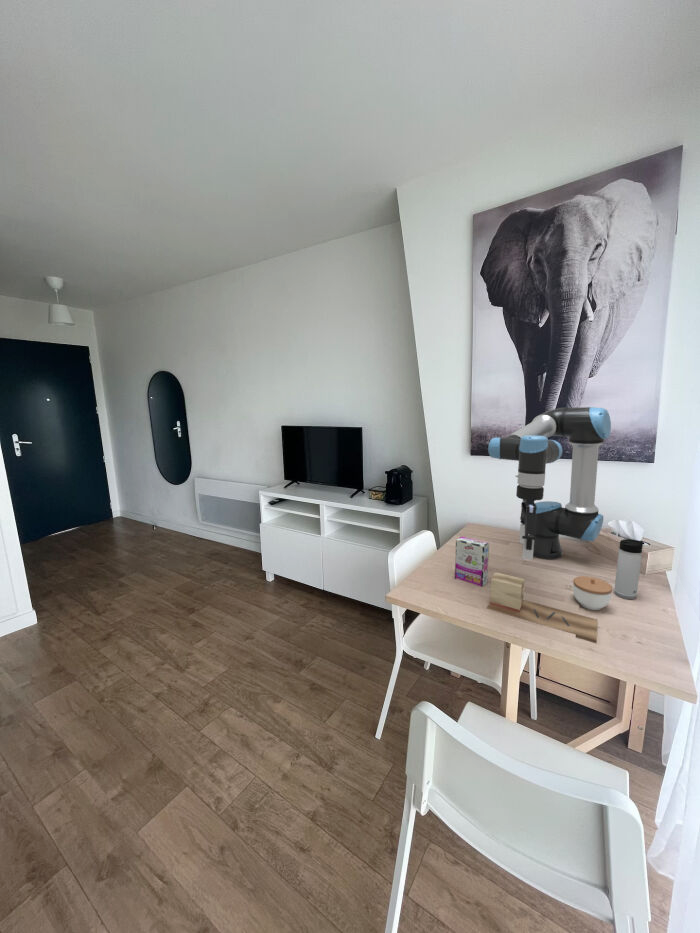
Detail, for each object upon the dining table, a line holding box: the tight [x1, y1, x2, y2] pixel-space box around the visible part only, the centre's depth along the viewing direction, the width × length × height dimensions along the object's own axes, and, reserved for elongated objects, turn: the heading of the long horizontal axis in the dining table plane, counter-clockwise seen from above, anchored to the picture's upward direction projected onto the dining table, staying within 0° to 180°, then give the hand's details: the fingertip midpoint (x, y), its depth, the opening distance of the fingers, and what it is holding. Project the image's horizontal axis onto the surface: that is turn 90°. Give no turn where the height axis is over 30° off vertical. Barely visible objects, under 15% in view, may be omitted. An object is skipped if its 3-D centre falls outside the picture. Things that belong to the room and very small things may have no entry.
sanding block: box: [489, 572, 525, 613], centre depth 120 cm, size 6×9×9 cm, turn 55°
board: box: [486, 599, 598, 644], centre depth 115 cm, size 12×30×1 cm, turn 55°
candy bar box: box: [454, 536, 490, 587], centre depth 137 cm, size 11×5×16 cm, turn 47°
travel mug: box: [613, 538, 645, 600], centre depth 125 cm, size 6×7×20 cm
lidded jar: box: [572, 575, 613, 611], centre depth 120 cm, size 11×11×9 cm
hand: (525, 550), depth 116 cm, fingers open, 13 cm apart
